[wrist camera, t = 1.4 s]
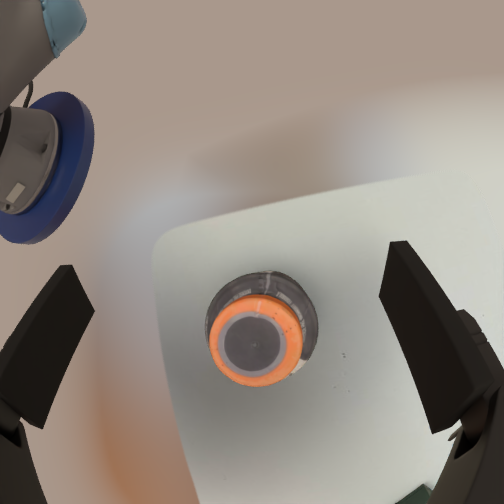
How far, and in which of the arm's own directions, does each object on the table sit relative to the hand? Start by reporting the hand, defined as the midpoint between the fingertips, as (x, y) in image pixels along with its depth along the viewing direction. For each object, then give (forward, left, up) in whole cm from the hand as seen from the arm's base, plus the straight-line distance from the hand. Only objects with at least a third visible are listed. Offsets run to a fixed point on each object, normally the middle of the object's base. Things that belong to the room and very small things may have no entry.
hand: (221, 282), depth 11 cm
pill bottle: (+3, -1, -12) cm, 13 cm away
